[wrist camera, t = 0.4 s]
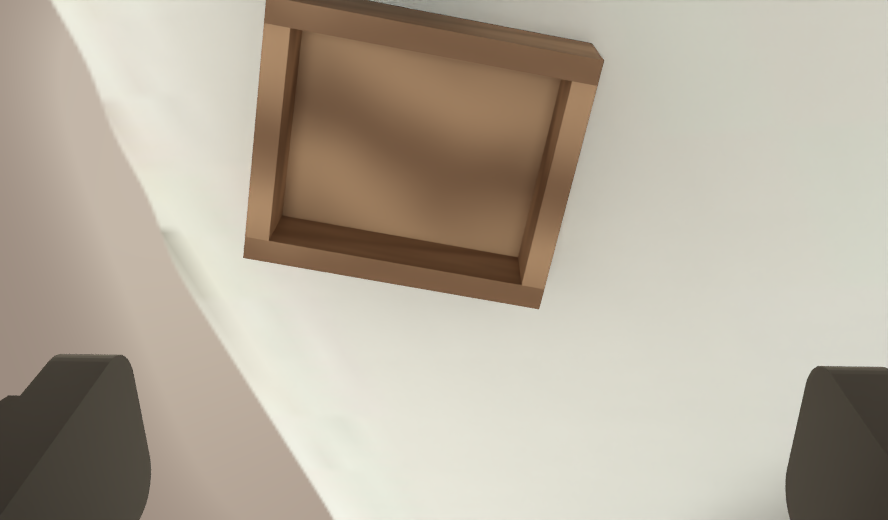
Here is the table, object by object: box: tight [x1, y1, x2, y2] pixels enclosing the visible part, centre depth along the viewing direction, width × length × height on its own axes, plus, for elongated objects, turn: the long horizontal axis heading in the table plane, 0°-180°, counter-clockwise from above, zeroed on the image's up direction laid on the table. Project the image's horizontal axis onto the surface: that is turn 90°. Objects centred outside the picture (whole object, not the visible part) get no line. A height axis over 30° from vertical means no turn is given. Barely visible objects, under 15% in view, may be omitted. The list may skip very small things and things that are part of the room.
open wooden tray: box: [243, 0, 604, 309], centre depth 36 cm, size 11×13×4 cm
